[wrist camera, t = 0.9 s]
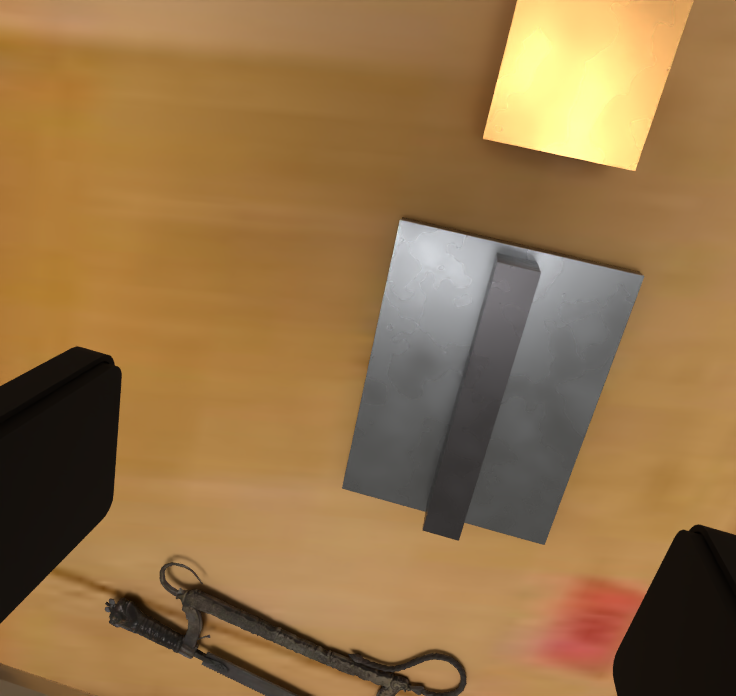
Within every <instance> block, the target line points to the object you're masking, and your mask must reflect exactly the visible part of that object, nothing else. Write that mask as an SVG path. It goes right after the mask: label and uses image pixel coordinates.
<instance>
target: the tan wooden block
mask: <svg viewBox="0 0 736 696" xmlns="http://www.w3.org/2000/svg"><path fill="white" fill-rule="evenodd" d="M693 1H694V0H517V4H516V8H515V12H514V16H513V20H512V24H511V28H510V32H509V36H508V40H507V44H506V48H505V52H504V56H503V60H502V64H501V68H500V72H499V76H498V80H497V84H496V88H495V92H494V96H493V100H492V104H491V107H490V111H489V115H488V119H487V123H486V127H485V131H484V135H483V139H487V140H492V141H497V142H501V143H506V144H511V145H516V146H520V147H525V148H530V149H534V150H539V151H544V152H548V153H553V154H558V155H562V156H567V157H572V158H577V159H581V160H586V161H591V162H595V163H600V164H605V165H609V166H614V167H619V168H624V169H628V170H633V171H635V170H636V167H637V164H638V161H639V158H640V155H641V152H642V149H643V146H644V143H645V140H646V138H647V135H648V132H649V129H650V126H651V123H652V120H653V117H654V114H655V111H656V108H657V106H658V103H659V100H660V97H661V94H662V91H663V88H664V85H665V82H666V79H667V76H668V74H669V71H670V68H671V65H672V62H673V59H674V56H675V53H676V50H677V47H678V44H679V42H680V39H681V36H682V33H683V30H684V27H685V24H686V21H687V18H688V15H689V12H690V9H691V7H692V4H693Z"/></svg>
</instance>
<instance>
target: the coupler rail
mask: <svg viewBox="0 0 736 696" xmlns="http://www.w3.org/2000/svg"><path fill="white" fill-rule="evenodd" d="M643 278H644V275H643V274H641V273H640V272H638V271H634V270H630V269H625V268H621V267H616V266H612V265H608V264H603V263H599V262H595V261H590V260H586V259H582V258H577V257H573V256H569V255H564V254H560V253H556V252H551V251H547V250H542V249H538V248H534V247H529V246H525V245H521V244H516V243H512V242H508V241H503V240H499V239H495V238H490V237H486V236H481V235H477V234H473V233H468V232H464V231H460V230H455V229H451V228H447V227H442V226H438V225H434V224H429V223H425V222H420V221H416V220H412V219H407V218H403V217H402V218H401V219H400V222H399V227H398V231H397V236H396V241H395V245H394V250H393V255H392V259H391V264H390V269H389V273H388V278H387V282H386V287H385V292H384V296H383V301H382V306H381V310H380V315H379V320H378V324H377V329H376V333H375V338H374V343H373V347H372V352H371V357H370V361H369V366H368V371H367V375H366V380H365V385H364V389H363V394H362V398H361V403H360V408H359V412H358V417H357V422H356V426H355V431H354V436H353V440H352V445H351V450H350V454H349V459H348V463H347V468H346V473H345V477H344V482H343V487H342V489H346V490H350V491H353V492H357V493H360V494H364V495H367V496H371V497H375V498H378V499H382V500H385V501H389V502H393V503H396V504H400V505H403V506H407V507H410V508H414V509H418V510H421V511H425V518H424V524H423V531H427V532H430V533H434V534H437V535H441V536H444V537H448V538H451V539H455V540H458V541H459V538H460V535H461V532H462V529H463V525H464V523H468V524H471V525H475V526H478V527H482V528H485V529H489V530H493V531H496V532H500V533H503V534H507V535H511V536H514V537H518V538H521V539H525V540H528V541H532V542H536V543H539V544H543V545H545V542H546V539H547V537H548V534H549V531H550V529H551V526H552V523H553V521H554V518H555V515H556V513H557V510H558V507H559V504H560V502H561V499H562V496H563V494H564V491H565V488H566V486H567V483H568V480H569V478H570V475H571V472H572V469H573V467H574V464H575V461H576V459H577V456H578V453H579V451H580V448H581V445H582V443H583V440H584V437H585V434H586V432H587V429H588V426H589V424H590V421H591V418H592V416H593V413H594V410H595V408H596V405H597V402H598V399H599V397H600V394H601V391H602V389H603V386H604V383H605V381H606V378H607V375H608V373H609V370H610V367H611V364H612V362H613V359H614V356H615V354H616V351H617V348H618V346H619V343H620V340H621V338H622V335H623V332H624V329H625V327H626V324H627V321H628V319H629V316H630V313H631V311H632V308H633V305H634V303H635V300H636V297H637V294H638V292H639V289H640V286H641V284H642V281H643Z"/></svg>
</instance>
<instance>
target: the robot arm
mask: <svg viewBox="0 0 736 696" xmlns="http://www.w3.org/2000/svg"><path fill="white" fill-rule="evenodd" d="M121 379H122V373H121V369H120V368H119V367H118V366H115V365H114V361H113V358H112V357H111V356H110V355H106V354H103V353H99V352H96V351H93V350H89V349H86V348H82V347H78V346H77V347H73V348H71V349H69V350H67V351H65V352H64V353H62V354H60V355H58V356H56V357H54V358H52V359H50V360H49V361H47V362H45V363H43V364H41V365H39V366H37V367H35V368H34V369H32V370H30V371H28V372H26V373H24V374H22V375H20V376H19V377H17V378H15V379H13V380H11V381H9V382H7V383H5V384H4V385H2V386H0V623H1V622H2V621H3V620H4V619H5V618H6V617H7V616H8V615H9V614H10V613H11V612H12V611H13V610H14V609H15V608H16V607H17V606H18V605H19V604H20V603H21V602H22V601H23V600H24V599H25V598H26V597H27V596H28V595H29V594H30V593H31V592H32V591H33V590H34V589H35V588H36V587H37V586H38V585H39V584H40V583H41V582H42V581H43V580H44V579H45V577H46V576H47V575H48V574H49V573H50V572H51V571H52V570H53V569H54V568H55V567H56V566H57V565H58V564H59V563H60V562H61V561H62V560H63V559H64V558H65V557H66V556H67V555H68V554H69V553H70V552H71V551H72V550H73V549H74V548H75V547H76V546H77V545H78V544H79V543H80V542H81V541H82V540H83V539H84V538H85V537H86V536H87V535H88V534H89V533H90V532H91V531H92V530H93V528H94V527H95V526H96V525H97V524H98V523H99V522H100V521H101V520H102V519H103V518H104V517H105V516H106V514H107V512H108V511H109V509H110V506H111V504H112V501H113V494H114V479H115V465H116V451H117V436H118V422H119V408H120V393H121ZM613 678H614V683H615V687H616V692H617V696H736V535H734V534H730V533H727V532H723V531H720V530H717V529H713V528H710V527H706V526H703V525H699V524H698V525H695V526H693V527H692V528H691V529H690V530H689V531H686V530H681V531H679V532H678V533H677V535H676V536H675V538H674V540H673V542H672V544H671V546H670V548H669V550H668V551H667V553H666V555H665V557H664V559H663V561H662V563H661V565H660V567H659V569H658V571H657V573H656V575H655V577H654V579H653V581H652V583H651V585H650V587H649V589H648V591H647V593H646V595H645V597H644V599H643V601H642V603H641V605H640V607H639V609H638V611H637V613H636V615H635V617H634V619H633V621H632V623H631V625H630V627H629V629H628V631H627V633H626V635H625V637H624V638H623V640H622V642H621V644H620V646H619V648H618V650H617V653H616V655H615V659H614V664H613ZM0 696H96V695H93V694H90V693H87V692H84V691H81V690H78V689H75V688H72V687H69V686H66V685H63V684H60V683H57V682H54V681H51V680H48V679H45V678H42V677H39V676H36V675H34V674H31V673H28V672H25V671H22V670H19V669H16V668H13V667H10V666H7V665H4V664H1V663H0Z"/></svg>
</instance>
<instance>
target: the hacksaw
mask: <svg viewBox="0 0 736 696" xmlns="http://www.w3.org/2000/svg"><path fill="white" fill-rule="evenodd" d="M172 565H176V566H180V567H184V568H186V569H188V570H190V571H191V572H192V573H193V574H194V575H195V576H196V577H197V578H198V580H199V581H200V583H201V584H203V583H202V582H201V580H200V579H199V577H198V576H197V575H196V573H195V572H194V571H193V570H192V569H190V568H189V567H187V566H185V565H183V564H179V563H173V562H172V563H169V564H165V565H164V566H163V567H162V568H161V570H160V582H161V584H162V586H163V587H164V588H165V589H166V590H167V591H168V592H170V593H171V594H173V595H174V596H176V599H181V602H182V605H183V607H182V611H184V612H185V614H186V618H187V619H188V630H187V632H186V635H181V634H179V633H178V632H176V631H174V630H172V629H171V628H169V627H168V626H165V625H163V624H162V623H160V622H159V621H157V620H155V619H153V618H152V617H150V616H147V615H146V614H145V613H143V612H141V610H140V609H139V607H138V606H137V605H136V604H135V603H134V602H132V601H130V600H129V601H128V600H127V599H126V598H121V599H120V600H119V601H118V603H117V604H116V603H115V601H114V599H109V603H110V604H109V603H108V602H106V603H105V604H106V605H107V606H109V607H105V611H106V612H111V613H110V616H109V617H110V621H109V623H110V624H112V625H113V626H115V627H121V628H124V629H126V630H128V631H131V632H133V633H138V634H139V635H141V636H144V637H145V638H147V639H149V640H151V641H153V642H155V643H157V644H159V645H162V646H164V647H166V648H168V649H172V650H173V651H174V652H176V653H180V654H182V655H183V656H185V657H187V658H190V659H191V658H193V656H194V657H196V658H198V659H200V660H202V661H203V663H202V665H204V666H206V667H209V669H212V670H214V671H217V673H220V674H222V675H225V677H228V678H230V679H233V680H235V681H236V682H239V683H241V684H243V685H244V686H247V687H249V688H252V689H254V690H255V691H257V692H260V693H262V694H263V695H265V696H299V695H297V694H295V693H293V692H291V691H289V690H287V689H284V688H282V687H280V686H278V685H276V684H274V683H272V682H270V681H268V680H266V679H264V678H262V677H260V676H258V675H256V674H254V673H251V672H249V671H247V670H245V669H243V668H241V667H239V666H237V665H235V664H233V663H231V662H229V661H227V660H225V659H223V658H220V657H218V656H216V655H214V654H212V653H210V652H207V654H205V653H203V652H202V651H200V650H198V649H197V648H198V646H199V644H198V643H197V641H198V640H199V639H202V638H205V637H208V638H210V635H207V636H204V637H201V638H199V636H200V633H201V629H202V616H201V612H200V611H203V612H205V613H208V614H212V615H214V616H216V617H218V618H219V619H221V620H224V621H226V622H228V623H230V624H233V625H235V626H238V627H240V628H241V629H243V630H246V631H249V632H251V633H252V634H257V636H258V635H259V636H261V637H263V638H265V639H266V640H270V641H273V642H274V643H277V644H279V645H281V646H284V647H286V648H287V649H290V650H293V651H294V652H296V653H300V654H302V655H304V656H306V657H309V658H310V659H313V660H316V661H318V662H320V663H323V664H326V665H327V666H331V667H332V668H336V669H337V670H339V671H341V672H344V673H347V674H350V675H353V676H354V675H356V676H358V677H359V678H361V679H363V680H368V681H371V682H373V683H374V684H376V685H381V686H383V687H381V689H380V690H379V691H378V693H377V695H376V696H395V695H396V694H397V693H398V692H399V691H400V690H404V691H405V692H406V690H407V691H411V690H412V691H413V692H415V693H416V694H418V695H421V694H423V695H425V696H458V695H459V694H460V693H461V692H462V691H463V690H464V688H465V685H466V675H465V671H464V669H463V668H462V666H461V665H460V664H459V662H458V661H456V660H455V659H454V658H453V657H450V656H447V655H444V654H439V653H435V654H434V653H430V654H427V655H423V656H421V657H418V658H416V659H413V660H411V661H409V662H407V663H404V664H401V665H396V666H386V665H382V664H378V663H375V662H371V661H369V660H367V659H364V658H363V657H362V656H361V655H359V654H348V655H349V656H350V657H351V658H352V659H350V658H349V657H345V656H343V655H341V654H338V653H336V652H334V651H332V652H331V650H328V651H326V650H324V649H323V648H322V647H321V646H316V645H315V644H314V643H312V642H310V641H307V640H305V639H300V638H298V637H297V636H296V635H295V634H292V633H290V632H287V631H285V630H282V629H281V627H274V626H272V625H271V624H269V623H268V622H267V621H263V620H262V619H260V618H259V617H256V616H253V615H251V614H248V613H247V612H246V611H244V610H243V611H242V610H241V609H238V608H236V607H233V606H231V605H229V604H227V603H226V602H224V601H222V600H220V599H218V598H216V597H213V596H211V595H209V594H207V593H204V592H202V591H201V590H198V589H194V590H190V591H188V590H182V589H181V588H180V589H179V590H177V589H175V588H173V587H172V586H171V585H170V584H169V583H168V582H167V581H166V579H165V570H166V568H167V567H169V566H172ZM433 659H436V660H443V661H447V662H449V663H450V664H452V665H453V666H454V667H455V668H457V670H458V672H459V673H460V676H461V683H460V685H459V688H456V690H454V691H450V692H444V693H441V692H439V693H436V692H430V691H428V690H425V689H424V687H422V686H411V684H410V683H409V680H408V679H406V678H404V677H400V676H394V675H393V673H392V674H391V673H387V671H389V672H395V671H400V670H405V669H406V668H410V667H412V666H415V665H417V664H419V663H422V662H424V661H428V660H433ZM377 669H378V670H382V671H384V672H380V671H378V670H377Z"/></svg>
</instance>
